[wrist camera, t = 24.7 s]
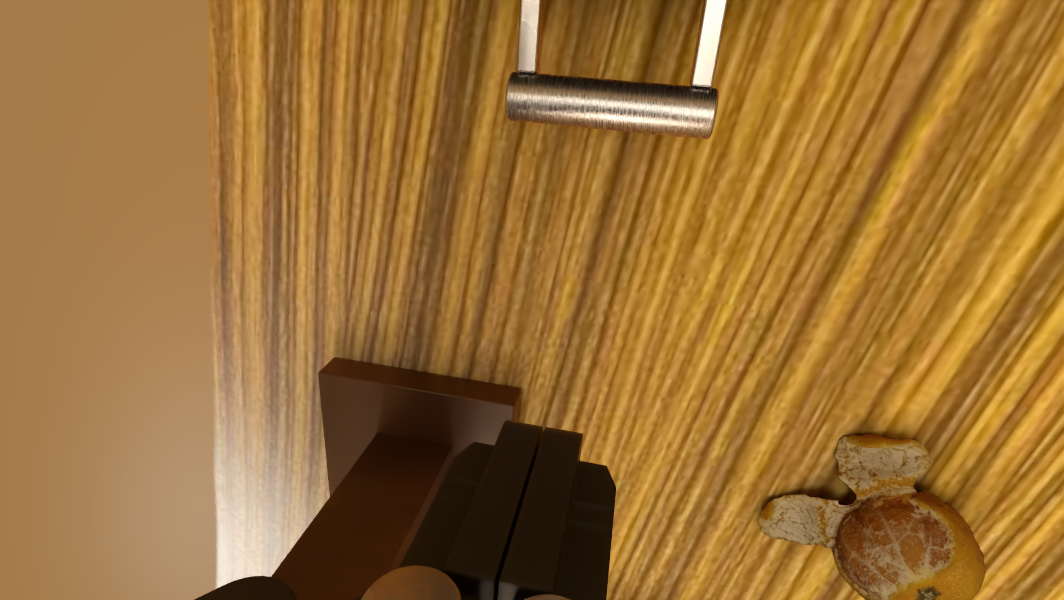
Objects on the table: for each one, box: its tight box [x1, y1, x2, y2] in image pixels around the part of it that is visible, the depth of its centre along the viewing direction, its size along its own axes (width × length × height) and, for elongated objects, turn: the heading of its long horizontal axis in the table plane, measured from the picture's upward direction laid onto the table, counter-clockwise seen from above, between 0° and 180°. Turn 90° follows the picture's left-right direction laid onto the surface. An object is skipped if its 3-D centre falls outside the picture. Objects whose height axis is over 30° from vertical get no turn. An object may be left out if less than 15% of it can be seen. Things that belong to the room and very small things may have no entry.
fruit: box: [759, 434, 986, 600], centre depth 25 cm, size 8×8×4 cm
